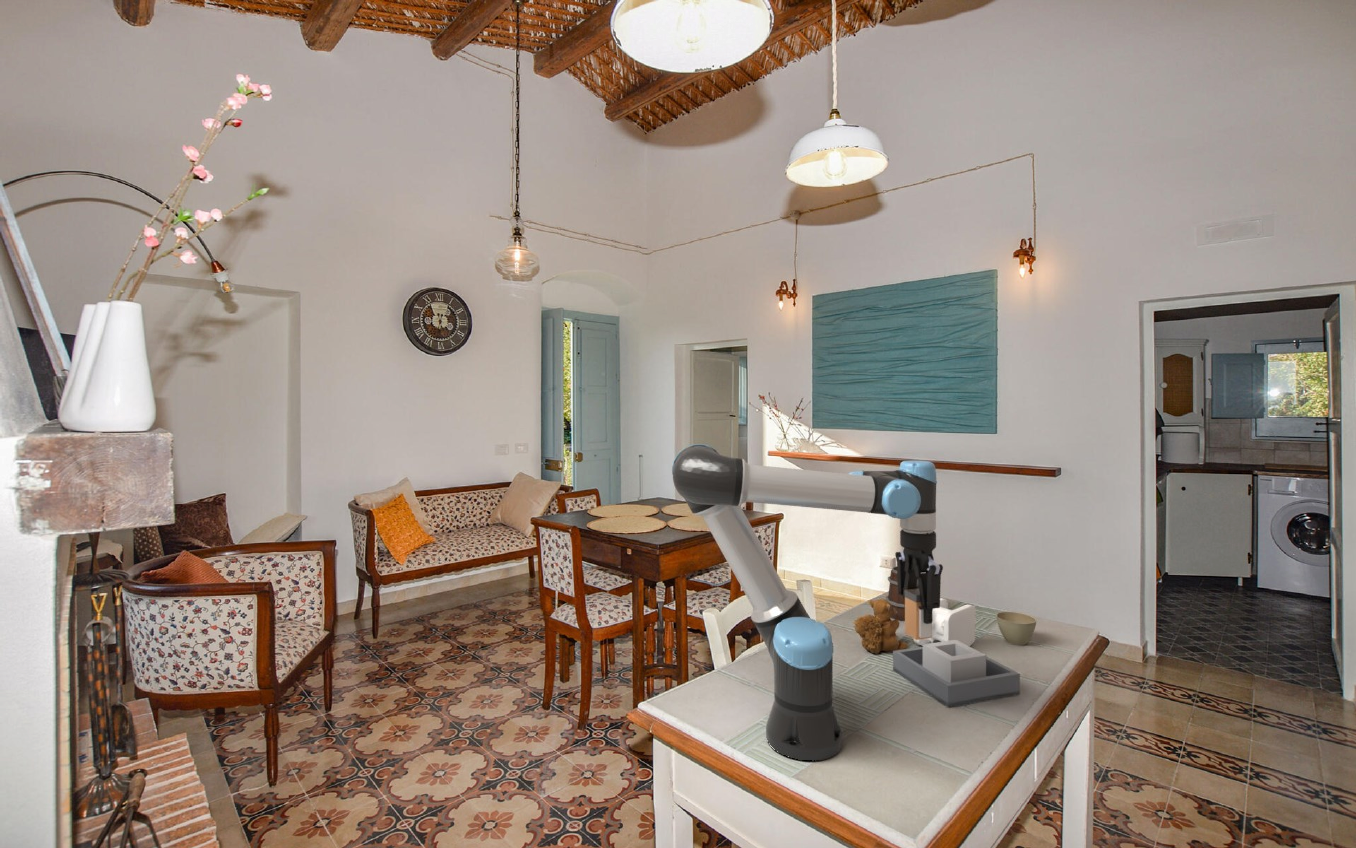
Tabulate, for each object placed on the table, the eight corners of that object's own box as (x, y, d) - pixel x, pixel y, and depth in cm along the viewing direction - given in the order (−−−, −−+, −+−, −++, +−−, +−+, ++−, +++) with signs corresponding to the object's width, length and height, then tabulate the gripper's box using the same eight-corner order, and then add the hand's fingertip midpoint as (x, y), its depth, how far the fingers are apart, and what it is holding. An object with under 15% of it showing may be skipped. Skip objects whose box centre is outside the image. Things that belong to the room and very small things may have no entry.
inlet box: (948, 708, 137) (948, 672, 136) (893, 670, 156) (893, 639, 156) (1019, 694, 142) (1020, 661, 142) (958, 660, 161) (958, 630, 161)
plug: (916, 640, 135) (916, 595, 135) (904, 633, 139) (904, 590, 139) (932, 637, 136) (932, 593, 136) (920, 631, 140) (919, 588, 140)
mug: (879, 616, 195) (879, 569, 194) (896, 606, 204) (896, 562, 203) (928, 628, 184) (928, 579, 183) (943, 618, 192) (944, 571, 192)
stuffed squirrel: (910, 648, 169) (910, 601, 169) (877, 661, 162) (877, 612, 161) (880, 637, 178) (880, 592, 177) (847, 648, 170) (847, 602, 169)
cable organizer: (947, 659, 162) (947, 616, 162) (911, 646, 171) (911, 605, 170) (976, 645, 171) (976, 604, 171) (940, 634, 180) (940, 595, 179)
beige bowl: (1036, 639, 174) (1037, 615, 174) (1035, 652, 166) (1035, 626, 166) (997, 632, 180) (997, 609, 180) (994, 644, 171) (994, 619, 171)
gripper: (959, 536, 129) (959, 645, 130) (908, 521, 146) (908, 618, 147) (929, 539, 127) (929, 649, 128) (880, 523, 144) (881, 621, 145)
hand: (918, 632), depth 137 cm, fingers closed on plug, 4 cm apart
